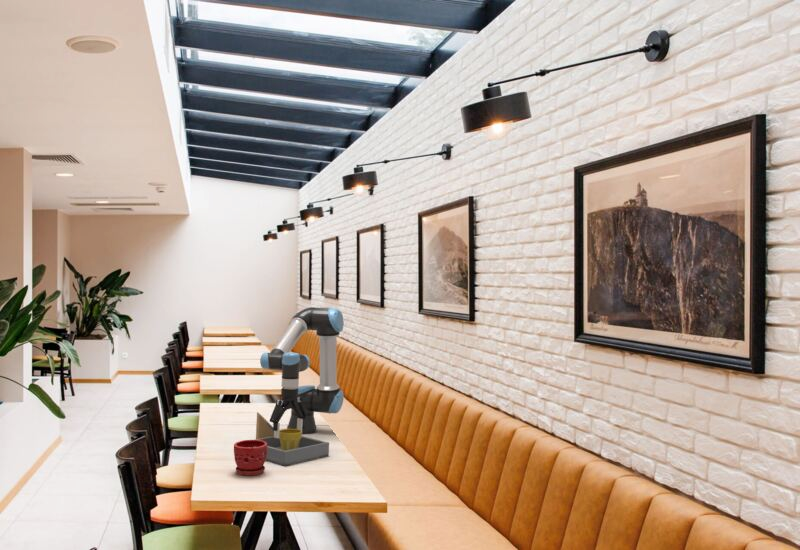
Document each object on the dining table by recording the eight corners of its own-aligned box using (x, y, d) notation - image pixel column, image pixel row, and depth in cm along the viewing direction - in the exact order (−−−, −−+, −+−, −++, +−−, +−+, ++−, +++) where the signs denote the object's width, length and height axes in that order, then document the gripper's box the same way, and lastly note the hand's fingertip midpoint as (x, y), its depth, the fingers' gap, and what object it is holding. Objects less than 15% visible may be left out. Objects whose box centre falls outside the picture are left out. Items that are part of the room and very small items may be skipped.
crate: (288, 445, 336) (289, 433, 336) (328, 456, 319) (329, 442, 320) (244, 454, 316) (245, 441, 316) (284, 466, 299) (285, 451, 299)
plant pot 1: (237, 467, 294) (238, 438, 294) (269, 469, 294) (270, 440, 294) (228, 476, 281) (230, 445, 281) (262, 478, 281) (263, 447, 281)
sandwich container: (290, 446, 336) (292, 414, 336) (257, 447, 331) (259, 415, 331) (287, 442, 344) (289, 411, 344) (255, 443, 339) (256, 411, 339)
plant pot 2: (278, 449, 323) (279, 428, 323) (301, 450, 324) (302, 428, 324) (276, 455, 313) (277, 432, 313) (300, 455, 314) (301, 433, 314)
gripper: (304, 383, 330) (302, 429, 330) (262, 389, 310) (260, 438, 311) (316, 386, 325) (314, 432, 325) (274, 391, 306) (272, 441, 306)
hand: (288, 435), depth 318 cm, fingers open, 13 cm apart
